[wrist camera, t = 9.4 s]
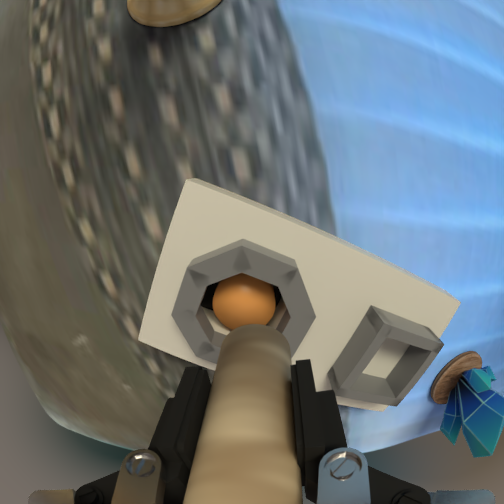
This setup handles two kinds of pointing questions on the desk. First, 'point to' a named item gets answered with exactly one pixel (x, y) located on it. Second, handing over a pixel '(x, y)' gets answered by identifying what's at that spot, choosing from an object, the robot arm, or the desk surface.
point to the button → (243, 301)
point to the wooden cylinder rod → (248, 425)
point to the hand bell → (168, 11)
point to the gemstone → (470, 403)
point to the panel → (321, 272)
